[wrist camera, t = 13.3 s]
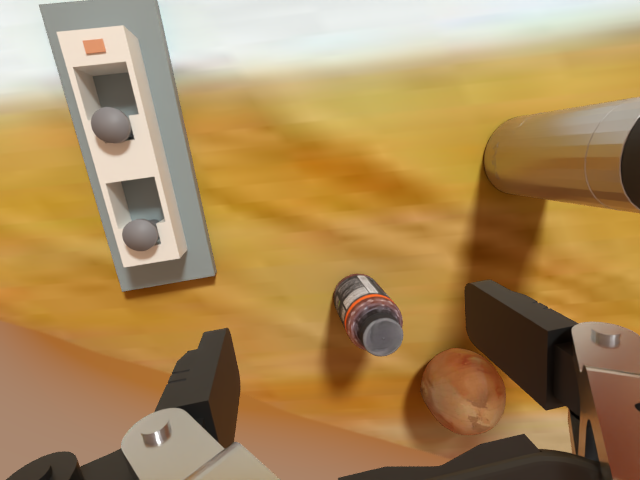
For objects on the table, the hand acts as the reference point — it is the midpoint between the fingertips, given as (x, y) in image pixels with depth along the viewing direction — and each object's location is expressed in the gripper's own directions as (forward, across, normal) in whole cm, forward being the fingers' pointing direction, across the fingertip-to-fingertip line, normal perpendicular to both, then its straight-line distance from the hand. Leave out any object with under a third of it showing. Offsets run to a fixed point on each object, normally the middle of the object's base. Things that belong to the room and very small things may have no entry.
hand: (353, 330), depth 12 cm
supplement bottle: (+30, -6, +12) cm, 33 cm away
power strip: (+29, +15, -8) cm, 33 cm away
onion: (+30, -17, +25) cm, 43 cm away
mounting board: (+30, +15, -8) cm, 35 cm away
